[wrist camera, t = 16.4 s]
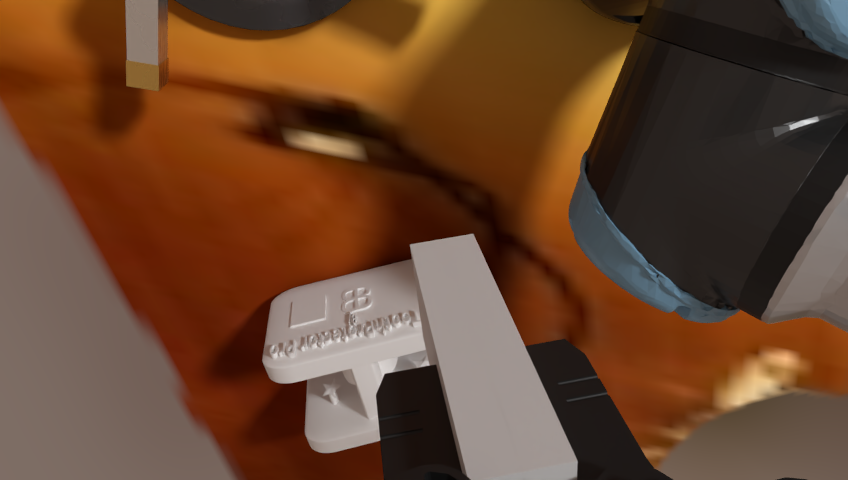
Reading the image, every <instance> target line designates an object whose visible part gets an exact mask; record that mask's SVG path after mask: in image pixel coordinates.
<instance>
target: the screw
mask: <svg viewBox="0 0 848 480" xmlns="http://www.w3.org/2000/svg"><path fill="white" fill-rule="evenodd" d="M125 5H126V44H127V60H126V86H129V87H135V88H142V89H148V90H154V91H160V90H161V89H162V88H163V87H164V86H165V85H166V84H167V83H168V62H169V58H168V0H125Z"/></svg>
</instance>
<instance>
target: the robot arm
mask: <svg viewBox="0 0 848 480" xmlns="http://www.w3.org/2000/svg"><path fill="white" fill-rule="evenodd" d="M581 1H582V2H583V3H584V4H586V5H587V6H588V7H589V8H590V9H592V10H593V11H595V12H596V13H598V14H600V15H602V16H604V17H607V18H609V19H612V20H615V21H618V22H621V23H624V24H628V25H634V26H639V27H638V29H637V30H638V31H636V33H635V36H634V38H633V41H632V43H631V46H630V48H629V51H628V53H627V56H626V58H625V61H624V63H623V66H622V68H621V71H620V73H619V76H618V78H617V81H616V83H615V86H614V88H613V90H612V93H611V95H610V98H609V100H608V103H607V105H606V107H605V110H604V112H603V115H602V117H601V120H600V122H599V124H598V127H597V129H596V132H595V134H594V137H593V139H592V141H591V144H590V146H589V148H588V150H587V151H586V152H585V153H584V155H583V157H582V160H581V165H580V175H579V178H578V181H577V184H576V187H575V190H574V193H573V196H572V199H571V202H570V205H569V222H570V225H571V228H572V231H573V232H574V237H575V240H576V241H577V243H578V245H579V246H580V248H581V249H582V251H583V252H584V253H585V255H586V256H587V257H588V258H589V259H590V260H591V262H592V263H593V264H594V265H595V266H596V267H597V268H598V269H599V270H600V271H601V272H603V273H604V274H605V275H606V276H607V277H609V278H610V279H611V280H612V281H613V282H615V283H616V284H617V285H619V286H620V287H621V288H623V289H624V290H626V291H627V292H629V293H630V294H632V295H633V296H635V297H636V298H638V299H640V300H642V301H643V302H645V303H647V304H649V305H651V306H653V307H655V308H657V309H659V310H662V311H664V312H667V313H669V312H672V311H673V310H674V311H675V312H677V313H678V314H679V315H680V316H681V317H682V318H684V319H686V320H690V321H695V322H701V323H713V322H721V321H723V320H726V319H727V318H728V317H730V316H732V315H735V314H736V313H738V312H739V311H740V310H742V311H744V312H746V313H748V314H750V315H752V316H754V317H755V318H757V319H759V320H761V321H763V322H765V323H768V324H771V323H776V322H781V321H787V320H792V319H797V318H802V317H814V318H820V319H822V320H824V321H826V322H828V323H830V324H832V325H834V326H836V327H838V328H840V329H842V330H844V331H846V332H848V0H581ZM410 249H411V256H412V263H413V270H414V277H415V284H416V291H417V298H418V305H419V312H420V319H421V326H422V333H423V339H424V343H425V347H426V352H427V356H428V361H429V365H430V366H424V367H419V368H413V369H408V370H402V371H397V372H392V373H386V374H384V377H383V379H382V382H381V384H380V386H379V389H378V391H377V393H376V402H377V412H378V421H379V422H378V423H379V433H380V443H381V454H382V464H383V474H384V480H673V479H671V478H670V477H668V476H666V475H665V474H663V473H661V472H660V471H658V470H656V469H654V468H653V466H652V465H651V464H650V462H649V461H648V460H647V458H646V457H645V455H644V453H643V452H642V450H641V448H640V447H639V445H638V443H637V441H636V440H635V438H634V436H633V435H632V433H631V431H630V430H629V428H628V426H627V425H626V423H625V421H624V419H623V418H622V416H621V414H620V413H619V411H618V409H617V408H616V406H615V404H614V402H613V401H612V399H611V397H610V396H608V395H607V391H606V389H605V387H604V386H603V384H602V382H601V380H600V379H598V377H597V374H596V372H595V370H594V369H593V367H592V365H591V363H590V362H589V360H588V358H587V357H586V355H585V354H584V353H583V352H581V351H580V350H579V349H577V348H576V347H575V346H573V345H572V344H571V343H569V342H568V341H567V340H565V339H562V340H556V341H551V342H545V343H540V344H534V345H529V346H525V345H524V343H523V341H522V339H521V337H520V335H519V332H518V330H517V328H516V326H515V324H514V321H513V319H512V317H511V315H510V313H509V311H508V308H507V306H506V304H505V302H504V300H503V298H502V295H501V293H500V291H499V289H498V287H497V284H496V282H495V280H494V278H493V276H492V274H491V271H490V269H489V267H488V265H487V263H486V261H485V258H484V256H483V254H482V252H481V250H480V247H479V245H478V243H477V241H476V239H475V237H474V234H469V235H463V236H457V237H451V238H445V239H439V240H433V241H427V242H422V243H416V244H410ZM777 480H806V479H796V478H782V479H777Z"/></svg>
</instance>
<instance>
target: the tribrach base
mask: <svg viewBox="0 0 848 480" xmlns="http://www.w3.org/2000/svg"><path fill="white" fill-rule="evenodd" d="M175 1H177V2H178V3H180V4H182V5H183V6H185V7H187V8H188V9H190V10H192V11H194V12H196V13H198V14H200V15H202V16H204V17H207V18H209V19H211V20H214V21H217V22H220V23H223V24H226V25H229V26H234V27H239V28H244V29H250V30H268V31H269V30H282V29H290V28H294V27H299V26H304V25H307V24H310V23H312V22H315V21H318V20H320V19H323V18H325V17H326V16H328V15H330V14H332V13H334V12H336V11H337V10H339V9H340V8H342V7H343V6H344V5H346V4H347V3H348V2H350V1H351V0H175Z"/></svg>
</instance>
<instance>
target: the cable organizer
mask: <svg viewBox="0 0 848 480" xmlns="http://www.w3.org/2000/svg"><path fill="white" fill-rule="evenodd" d="M262 362H263V364H264V367H265V369H266V371H267V373H268V376H269V378H270V379H271V380H273V381H274V382H277V383H295V382H299V381H303V380H307V396H306V416H305V435H306V438H307V440H308V442H309V445H310V447H311V448H312V449H313V450H315V451H317V452H320V453H333V452H337V451H341V450H345V449H349V448H353V447H357V446H361V445H365V444H369V443H373V442H377V441H380V433H379V423H378V422H379V421H378V412H377V402H376V393H377V391H378V389H379V386H380V384H381V382H382V379H383V377H384V374H386V373H392V372H397V371H402V370H408V369H413V368H419V367H424V366H430V365H429V361H428V356H427V352H426V347H425V343H424V339H423V333H422V326H421V319H420V312H419V305H418V298H417V291H416V284H415V277H414V270H413V263H412V259H410V260H405V261H401V262H397V263H393V264H389V265H385V266H380V267H376V268H372V269H368V270H364V271H360V272H356V273H352V274H348V275H344V276H340V277H336V278H332V279H327V280H323V281H319V282H315V283H311V284H307V285H303V286H299V287H295V288H292V289H289V290H287V291H285V292H283V293H281V294H280V295H278V296H277V297H276V298H275V299H274V300H273V301H272V302H271V306H270V313H269V319H268V326H267V332H266V339H265V345H264V351H263V358H262Z"/></svg>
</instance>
